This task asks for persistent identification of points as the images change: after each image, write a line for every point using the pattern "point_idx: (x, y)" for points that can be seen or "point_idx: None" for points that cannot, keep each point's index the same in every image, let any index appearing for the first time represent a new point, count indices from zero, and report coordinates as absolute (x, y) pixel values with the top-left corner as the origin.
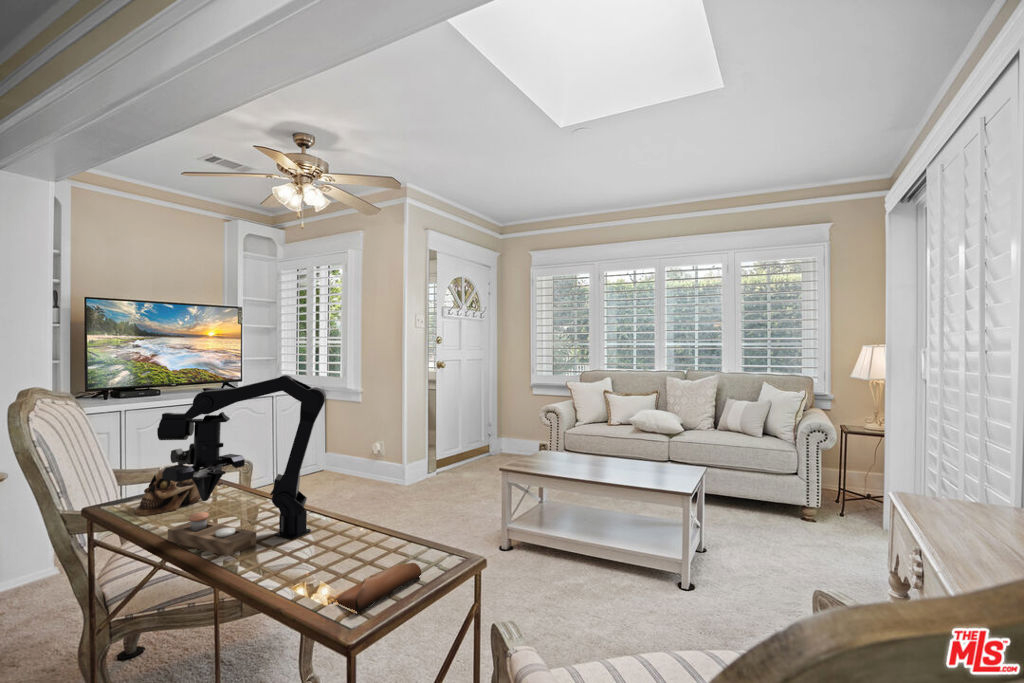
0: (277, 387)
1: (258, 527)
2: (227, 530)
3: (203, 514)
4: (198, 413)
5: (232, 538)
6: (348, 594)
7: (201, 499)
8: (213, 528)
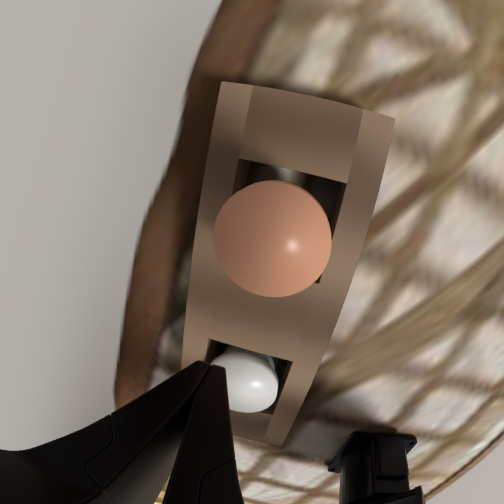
0: None
1: (434, 351)
2: (245, 392)
3: (288, 264)
4: None
5: None
6: None
7: (192, 363)
8: (285, 303)
